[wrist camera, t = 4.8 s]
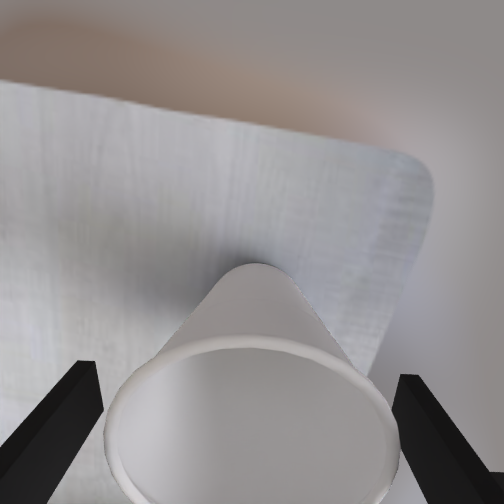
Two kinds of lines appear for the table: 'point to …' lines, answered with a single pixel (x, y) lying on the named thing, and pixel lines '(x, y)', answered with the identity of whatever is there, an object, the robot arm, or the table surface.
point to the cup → (251, 408)
